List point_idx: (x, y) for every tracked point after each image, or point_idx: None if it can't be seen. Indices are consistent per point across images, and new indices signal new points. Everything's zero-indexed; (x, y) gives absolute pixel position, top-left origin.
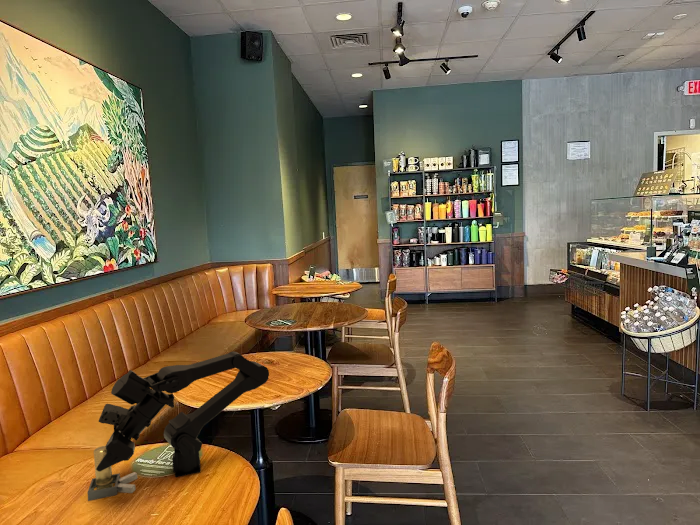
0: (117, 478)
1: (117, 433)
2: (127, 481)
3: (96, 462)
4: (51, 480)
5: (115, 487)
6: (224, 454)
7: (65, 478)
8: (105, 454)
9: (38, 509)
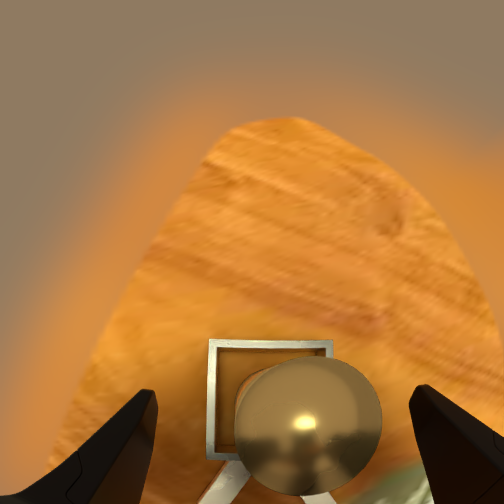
0: None
1: (493, 501)
2: None
3: (248, 383)
4: (408, 195)
5: (206, 454)
6: None
7: (413, 233)
8: (63, 482)
9: (240, 187)
